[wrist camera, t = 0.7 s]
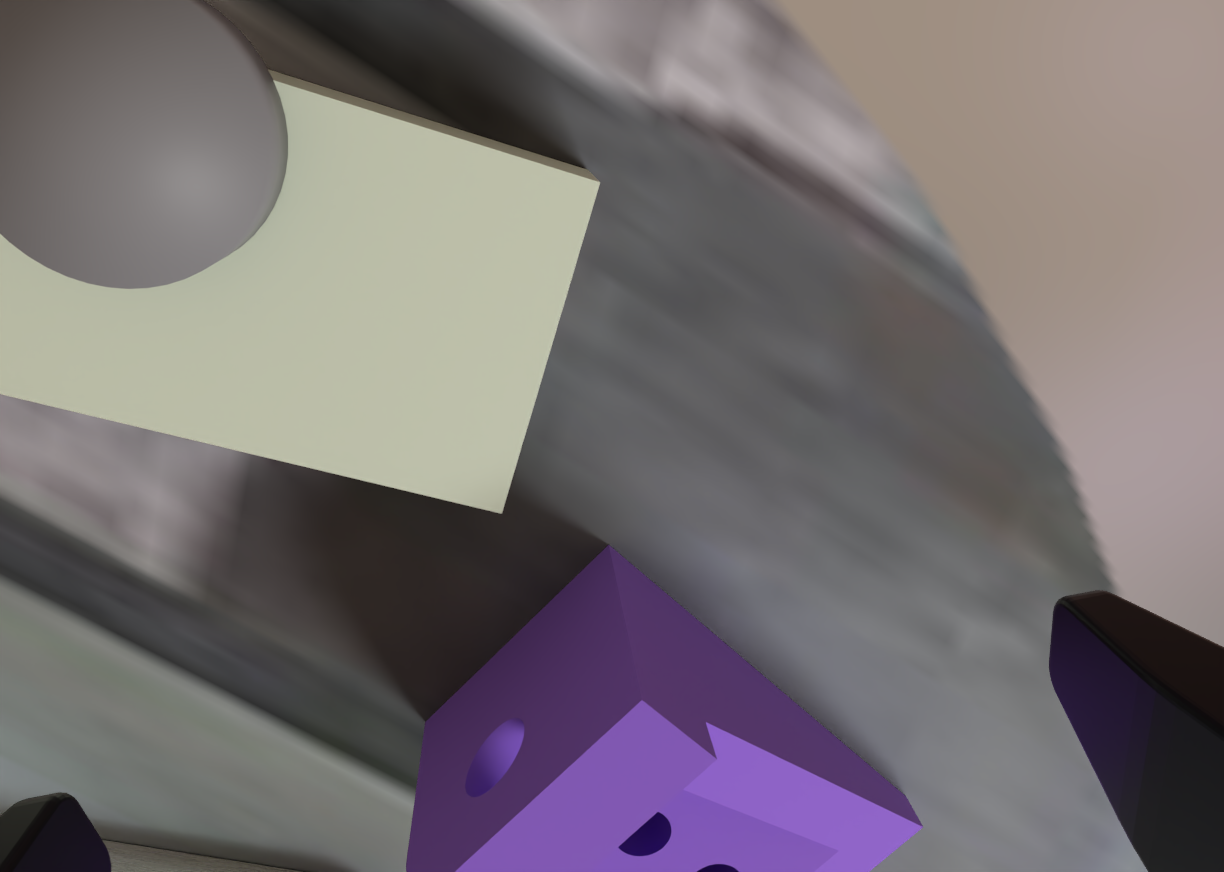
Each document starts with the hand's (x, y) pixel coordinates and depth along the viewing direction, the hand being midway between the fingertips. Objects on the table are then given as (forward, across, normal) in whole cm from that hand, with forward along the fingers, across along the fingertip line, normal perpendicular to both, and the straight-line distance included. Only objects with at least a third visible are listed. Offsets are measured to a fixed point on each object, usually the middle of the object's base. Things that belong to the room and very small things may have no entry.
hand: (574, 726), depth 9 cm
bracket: (+13, -1, +14) cm, 19 cm away
